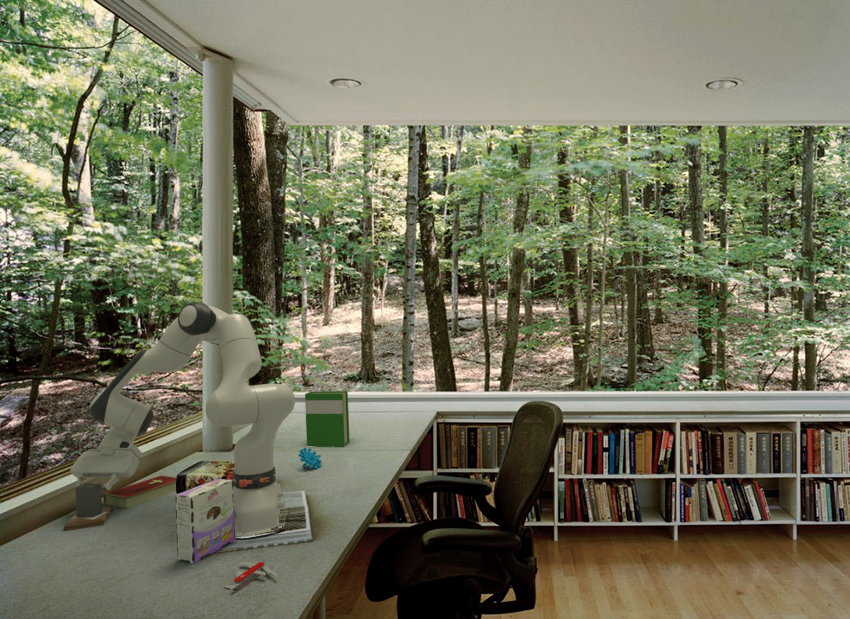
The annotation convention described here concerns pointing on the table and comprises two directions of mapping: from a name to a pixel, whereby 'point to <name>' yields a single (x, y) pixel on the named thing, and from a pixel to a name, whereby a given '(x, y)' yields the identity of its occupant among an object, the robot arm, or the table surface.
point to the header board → (88, 520)
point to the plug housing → (88, 500)
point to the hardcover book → (141, 492)
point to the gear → (310, 458)
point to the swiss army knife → (249, 574)
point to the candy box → (204, 520)
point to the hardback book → (327, 418)
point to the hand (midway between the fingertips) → (92, 489)
